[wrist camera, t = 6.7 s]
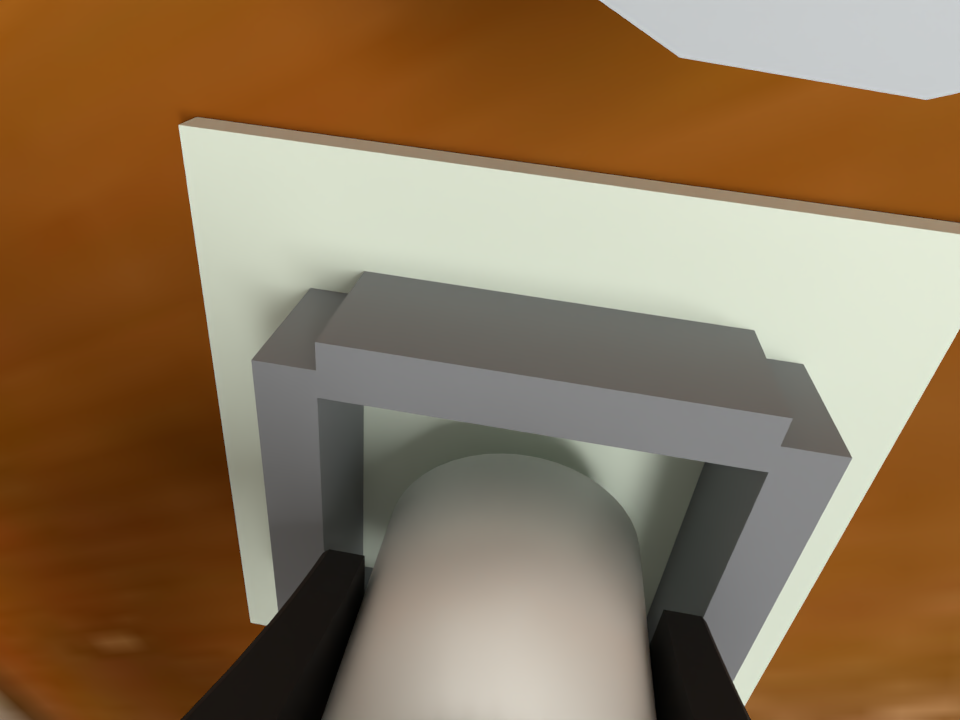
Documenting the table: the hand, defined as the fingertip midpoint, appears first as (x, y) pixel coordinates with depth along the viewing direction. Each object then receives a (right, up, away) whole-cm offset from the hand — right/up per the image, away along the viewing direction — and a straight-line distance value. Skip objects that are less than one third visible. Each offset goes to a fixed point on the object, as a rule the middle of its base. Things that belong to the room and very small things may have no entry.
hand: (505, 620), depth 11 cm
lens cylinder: (0, +1, +2) cm, 2 cm away
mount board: (+1, +2, +3) cm, 4 cm away
